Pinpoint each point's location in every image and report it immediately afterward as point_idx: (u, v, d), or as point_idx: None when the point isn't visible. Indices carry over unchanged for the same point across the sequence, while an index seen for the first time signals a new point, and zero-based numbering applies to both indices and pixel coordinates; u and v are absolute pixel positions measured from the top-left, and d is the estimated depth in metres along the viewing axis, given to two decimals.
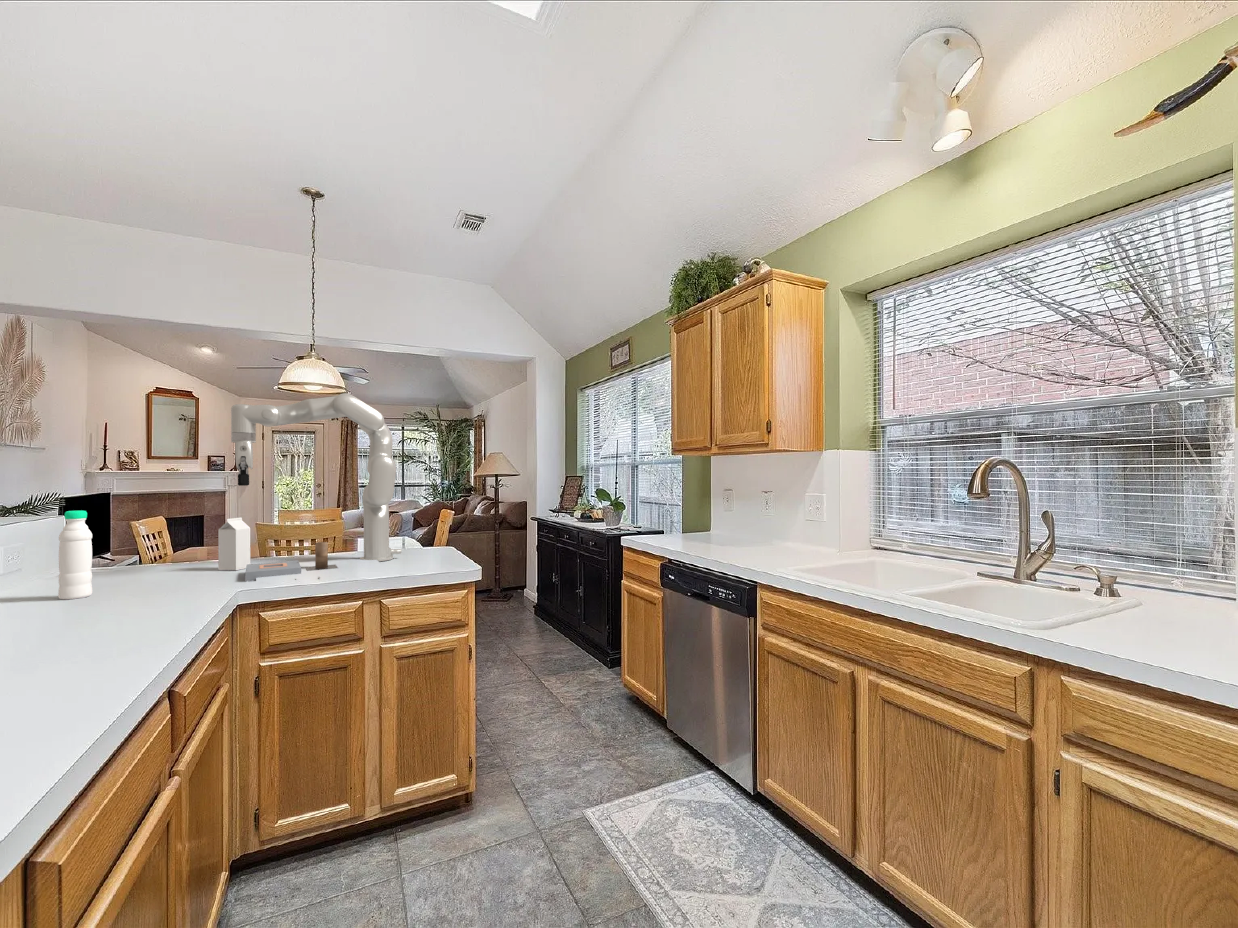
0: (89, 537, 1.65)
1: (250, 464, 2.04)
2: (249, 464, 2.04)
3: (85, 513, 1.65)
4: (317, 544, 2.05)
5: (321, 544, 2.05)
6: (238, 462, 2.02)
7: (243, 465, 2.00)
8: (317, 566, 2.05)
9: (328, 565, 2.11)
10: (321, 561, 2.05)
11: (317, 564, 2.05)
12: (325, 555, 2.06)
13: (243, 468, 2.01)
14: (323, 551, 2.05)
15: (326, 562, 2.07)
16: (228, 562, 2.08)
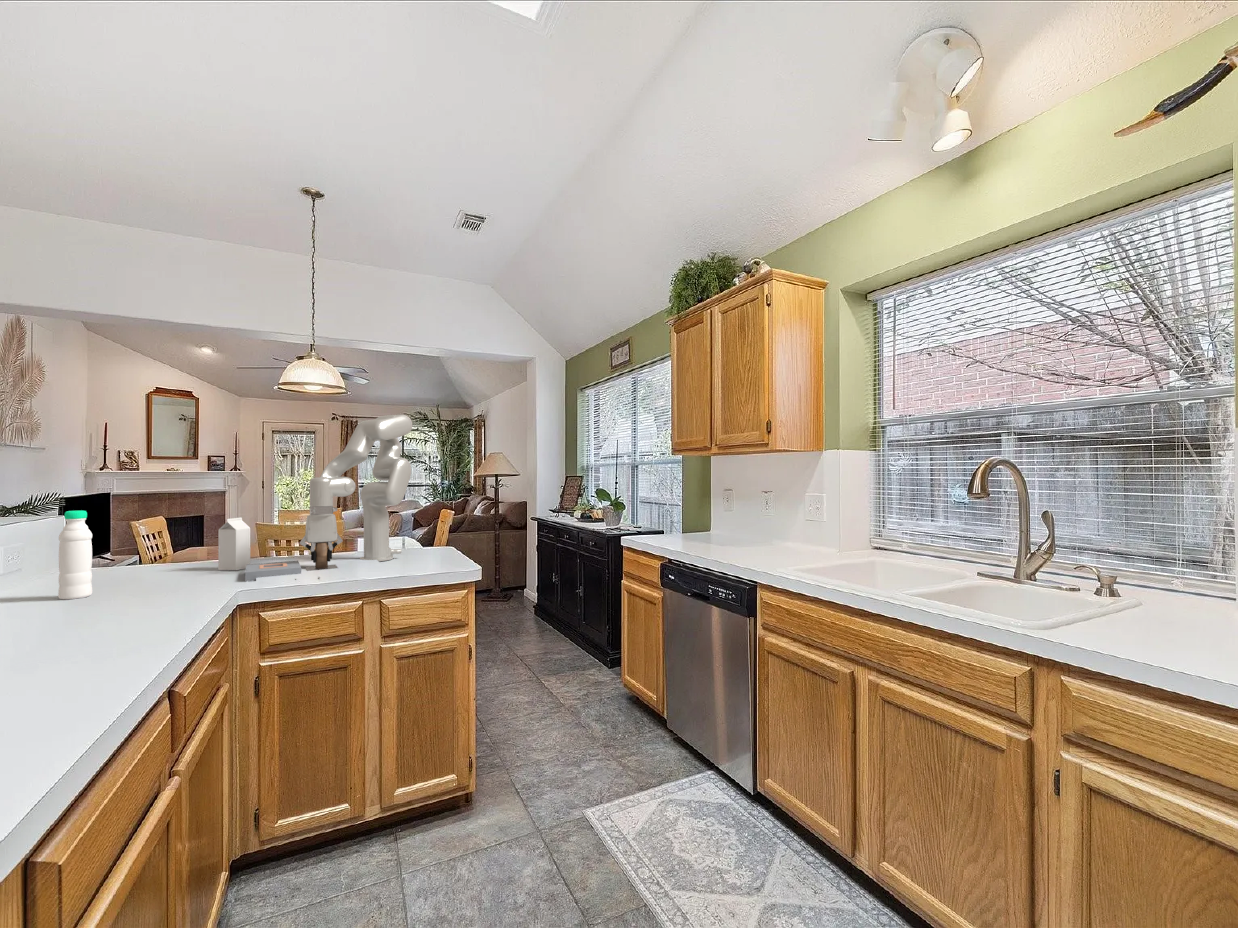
0: (89, 537, 1.65)
1: None
2: None
3: (85, 513, 1.65)
4: (317, 544, 2.05)
5: (321, 544, 2.05)
6: None
7: None
8: (317, 566, 2.05)
9: (328, 565, 2.11)
10: (321, 561, 2.05)
11: (317, 564, 2.05)
12: (325, 555, 2.06)
13: None
14: (323, 551, 2.05)
15: (326, 562, 2.07)
16: (228, 562, 2.08)
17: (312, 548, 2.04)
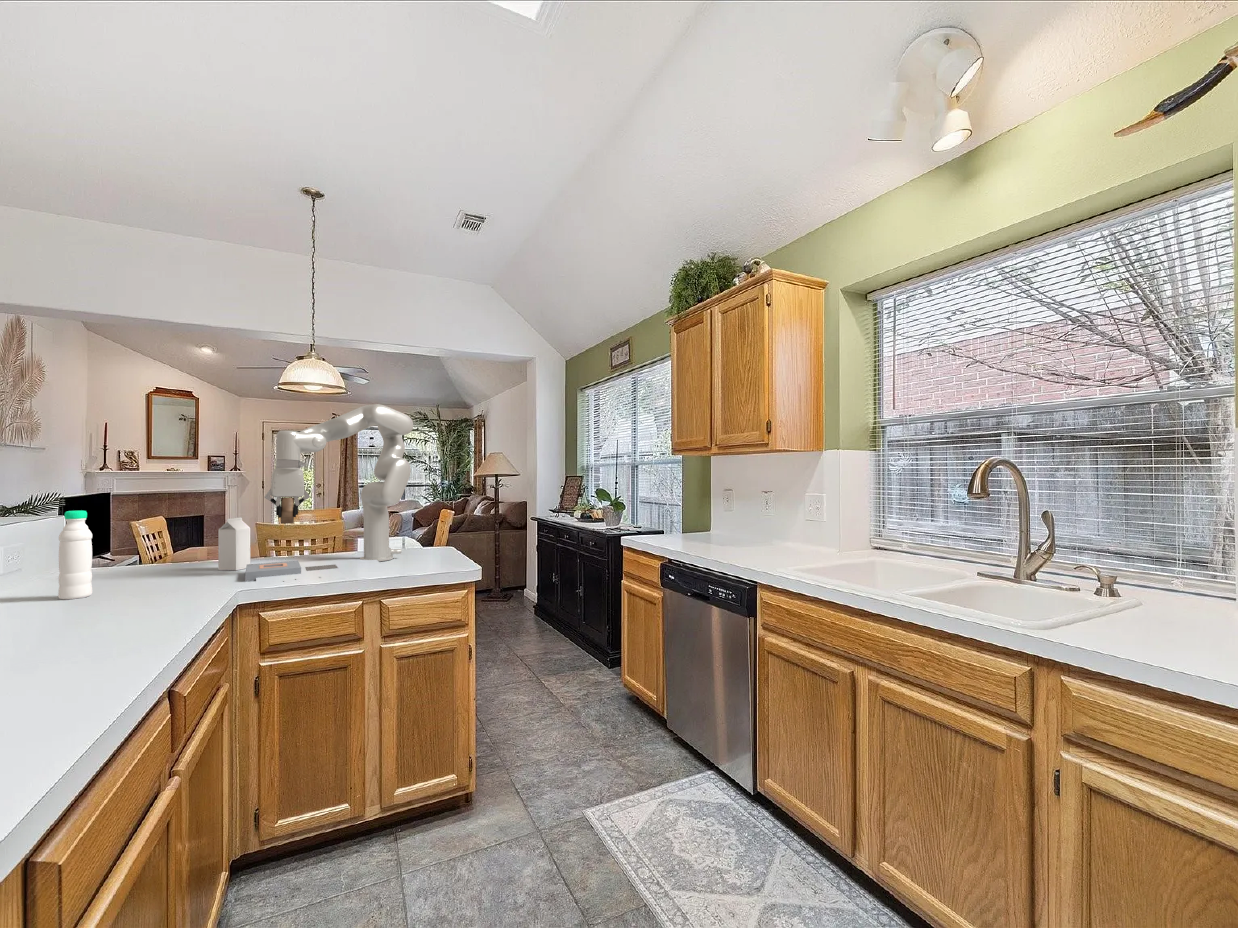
0: (89, 537, 1.65)
1: None
2: None
3: (85, 513, 1.65)
4: (283, 499, 1.99)
5: (287, 499, 2.00)
6: None
7: (306, 498, 2.05)
8: (282, 521, 1.99)
9: (328, 565, 2.11)
10: (286, 516, 1.99)
11: (282, 519, 1.99)
12: (291, 510, 2.00)
13: None
14: (289, 506, 2.00)
15: (292, 518, 2.01)
16: (228, 562, 2.08)
17: (277, 502, 1.99)
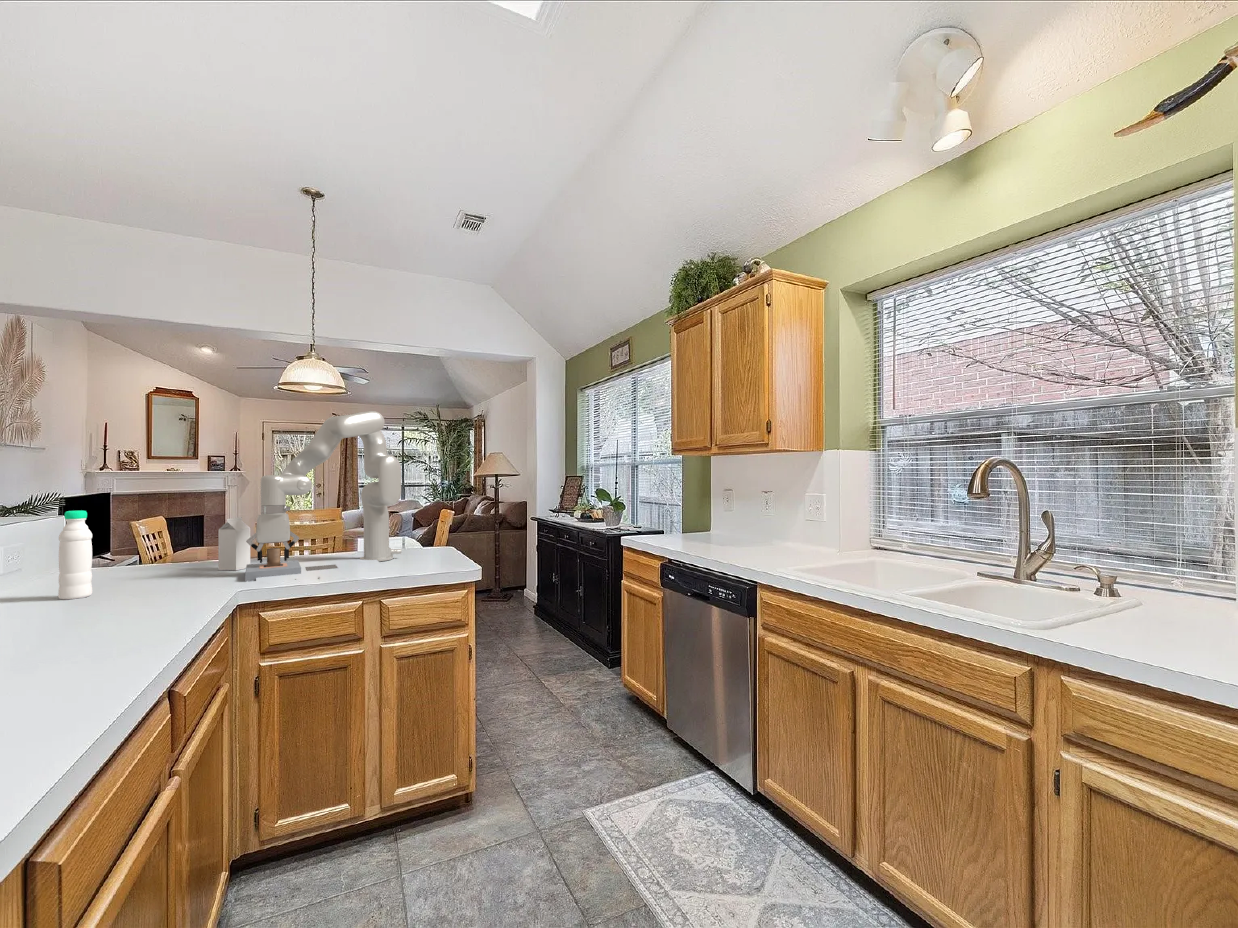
0: (89, 537, 1.65)
1: None
2: None
3: (85, 513, 1.65)
4: (268, 550, 1.97)
5: (273, 550, 1.97)
6: None
7: (297, 540, 2.03)
8: None
9: (328, 565, 2.11)
10: None
11: None
12: (277, 562, 1.98)
13: (294, 542, 2.03)
14: (275, 557, 1.97)
15: None
16: (229, 562, 2.08)
17: (259, 548, 1.96)
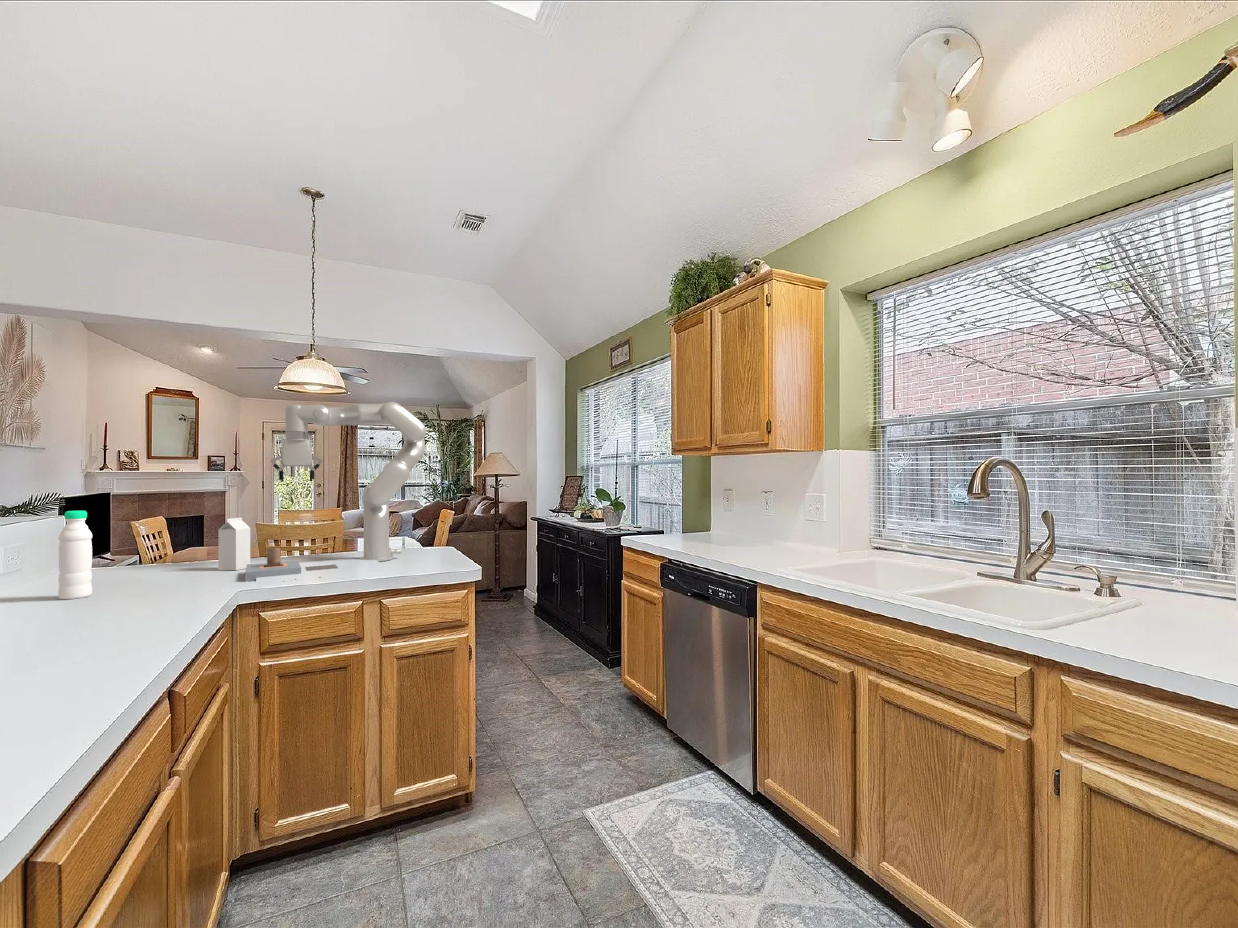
0: (89, 537, 1.65)
1: None
2: None
3: (85, 513, 1.65)
4: (269, 550, 1.97)
5: (273, 550, 1.97)
6: (311, 460, 2.20)
7: None
8: None
9: (328, 565, 2.11)
10: None
11: None
12: (277, 562, 1.98)
13: (319, 465, 2.22)
14: (275, 557, 1.98)
15: None
16: (228, 562, 2.08)
17: (281, 468, 2.14)
